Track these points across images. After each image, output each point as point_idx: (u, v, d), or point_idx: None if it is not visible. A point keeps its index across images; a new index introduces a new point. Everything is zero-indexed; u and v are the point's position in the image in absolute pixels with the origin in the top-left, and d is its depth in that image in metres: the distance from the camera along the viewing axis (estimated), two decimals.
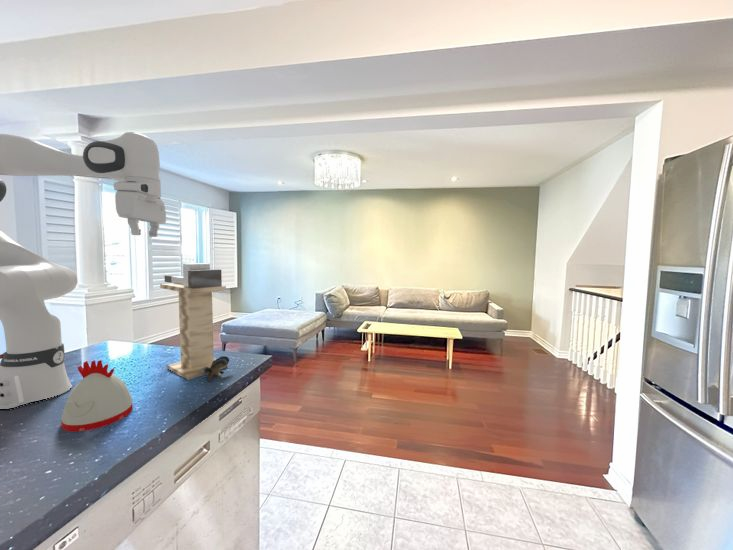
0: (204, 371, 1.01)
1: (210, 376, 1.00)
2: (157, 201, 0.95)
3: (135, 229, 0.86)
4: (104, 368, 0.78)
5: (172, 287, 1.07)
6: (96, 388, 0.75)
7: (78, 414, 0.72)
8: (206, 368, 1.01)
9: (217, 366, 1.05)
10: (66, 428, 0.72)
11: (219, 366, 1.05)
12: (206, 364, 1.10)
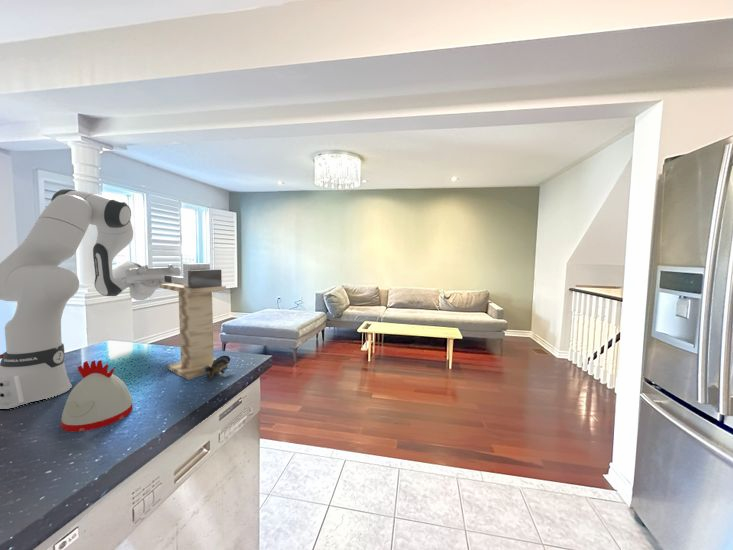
0: (205, 370, 1.02)
1: (211, 375, 1.01)
2: (140, 282, 1.29)
3: None
4: (104, 368, 0.78)
5: (172, 287, 1.07)
6: (96, 388, 0.75)
7: (78, 414, 0.72)
8: (207, 367, 1.02)
9: (218, 365, 1.05)
10: (66, 428, 0.72)
11: (220, 365, 1.06)
12: (206, 364, 1.10)
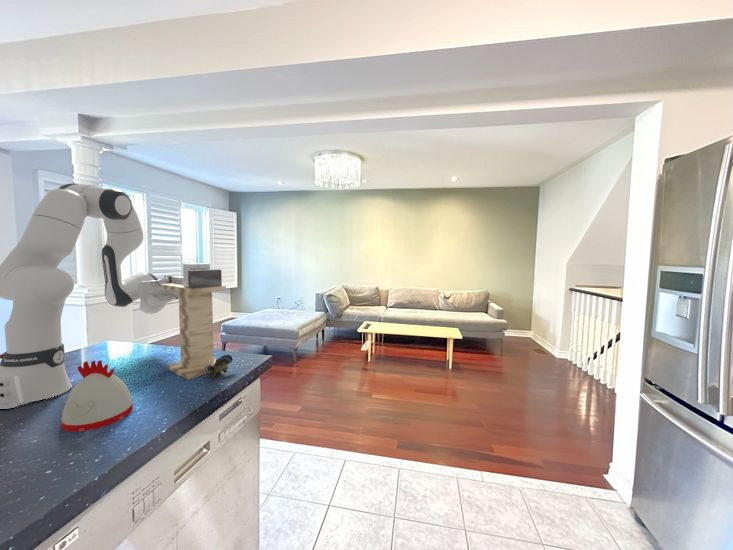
0: (207, 369, 1.03)
1: (213, 374, 1.02)
2: (153, 295, 1.21)
3: None
4: (104, 368, 0.78)
5: (172, 287, 1.07)
6: (96, 388, 0.75)
7: (78, 414, 0.72)
8: (209, 366, 1.02)
9: (220, 364, 1.06)
10: (66, 428, 0.72)
11: (222, 364, 1.06)
12: (206, 364, 1.10)
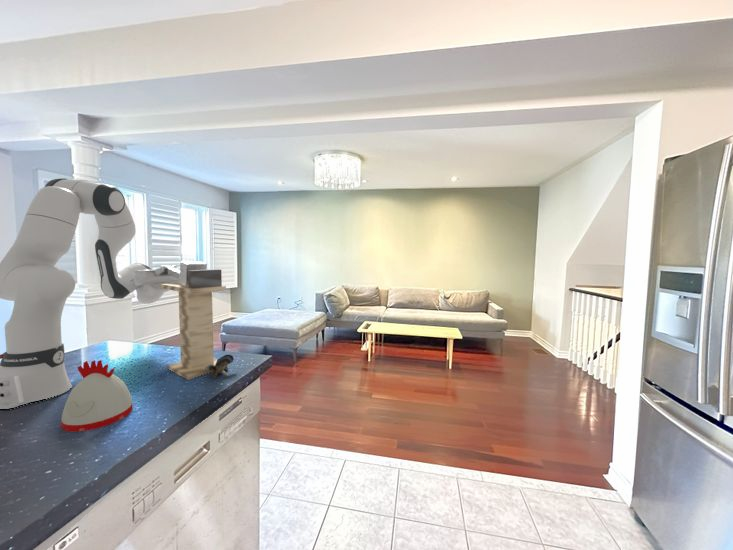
0: (209, 369, 1.03)
1: (214, 374, 1.02)
2: (149, 284, 1.23)
3: None
4: (104, 368, 0.78)
5: (172, 287, 1.07)
6: (96, 388, 0.75)
7: (78, 414, 0.72)
8: (211, 366, 1.03)
9: (222, 364, 1.06)
10: (66, 428, 0.72)
11: (223, 364, 1.07)
12: (206, 364, 1.10)
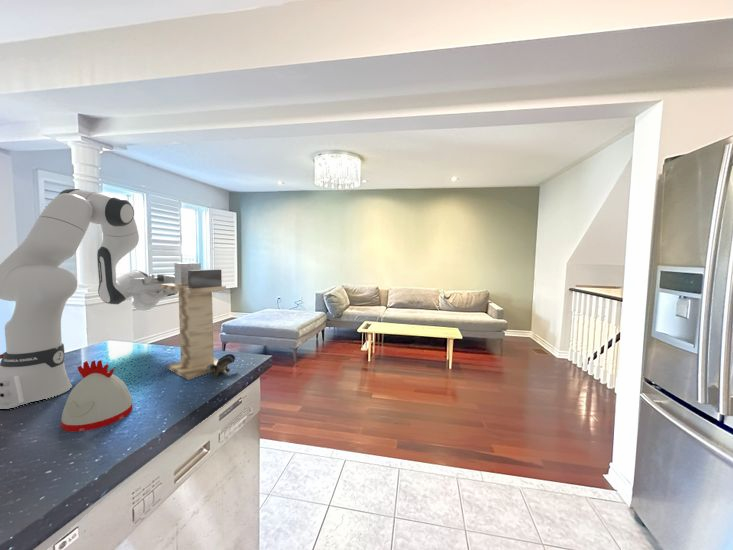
0: (210, 368, 1.04)
1: (216, 373, 1.02)
2: (145, 292, 1.26)
3: None
4: (104, 368, 0.78)
5: (172, 287, 1.07)
6: (96, 388, 0.75)
7: (78, 414, 0.72)
8: (212, 365, 1.03)
9: (223, 363, 1.07)
10: (66, 428, 0.72)
11: (225, 364, 1.07)
12: (206, 364, 1.10)
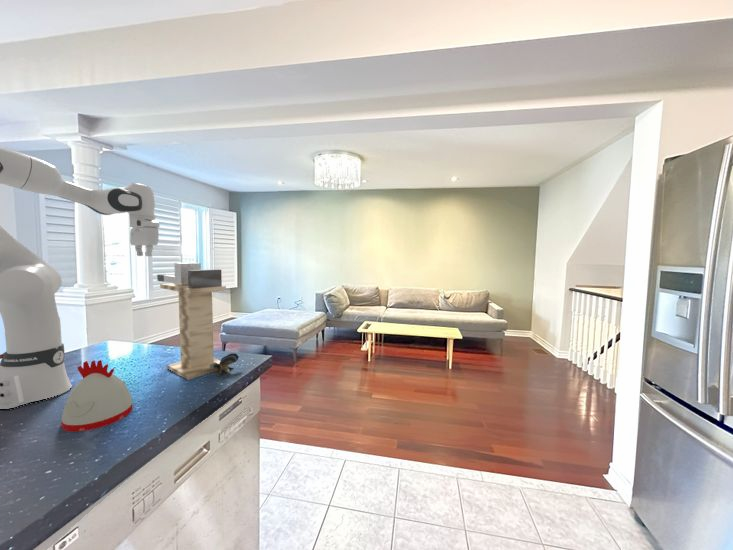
0: (213, 367, 1.05)
1: (218, 372, 1.03)
2: None
3: (150, 252, 1.25)
4: (104, 368, 0.78)
5: (172, 287, 1.07)
6: (96, 388, 0.75)
7: (78, 414, 0.72)
8: (215, 364, 1.04)
9: (226, 362, 1.08)
10: (66, 428, 0.72)
11: (228, 363, 1.08)
12: (206, 364, 1.10)
